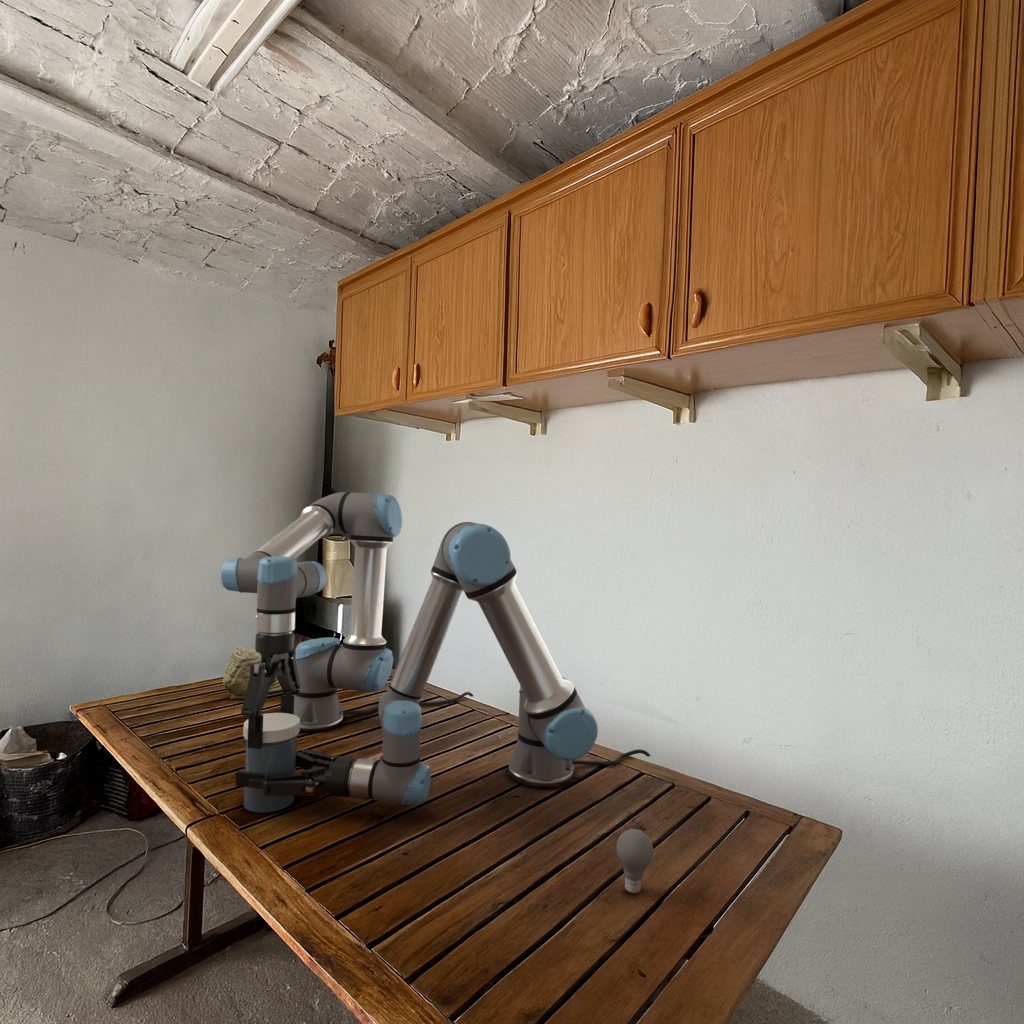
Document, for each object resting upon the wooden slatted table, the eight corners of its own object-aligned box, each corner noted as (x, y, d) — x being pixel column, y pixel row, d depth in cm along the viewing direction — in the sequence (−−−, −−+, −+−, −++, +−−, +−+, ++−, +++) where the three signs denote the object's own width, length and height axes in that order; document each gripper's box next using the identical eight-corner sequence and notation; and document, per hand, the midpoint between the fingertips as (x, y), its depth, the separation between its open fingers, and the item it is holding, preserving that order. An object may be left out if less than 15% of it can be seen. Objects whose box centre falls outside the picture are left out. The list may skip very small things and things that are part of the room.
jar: (238, 796, 132) (241, 722, 132) (287, 786, 138) (290, 715, 138) (249, 817, 124) (252, 738, 124) (300, 805, 130) (303, 730, 129)
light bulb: (610, 879, 108) (613, 822, 108) (644, 879, 109) (647, 822, 109) (619, 902, 102) (622, 840, 102) (655, 901, 103) (658, 840, 103)
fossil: (218, 695, 195) (220, 647, 195) (278, 685, 208) (279, 640, 207) (228, 703, 189) (230, 653, 188) (289, 692, 201) (290, 645, 201)
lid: (232, 741, 126) (233, 729, 126) (258, 721, 137) (258, 711, 137) (286, 744, 125) (286, 733, 125) (307, 725, 136) (308, 714, 136)
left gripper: (287, 620, 143) (283, 715, 143) (223, 643, 119) (219, 757, 119) (318, 622, 142) (315, 718, 142) (260, 646, 118) (256, 761, 118)
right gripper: (330, 823, 118) (218, 811, 120) (372, 772, 140) (276, 763, 143) (332, 783, 117) (219, 772, 120) (373, 739, 140) (278, 730, 143)
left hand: (271, 736), depth 131 cm, fingers open, 12 cm apart
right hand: (250, 767), depth 131 cm, fingers closed on jar, 10 cm apart
